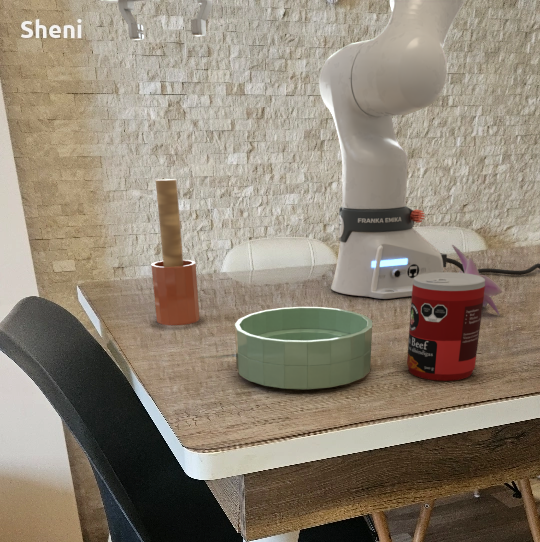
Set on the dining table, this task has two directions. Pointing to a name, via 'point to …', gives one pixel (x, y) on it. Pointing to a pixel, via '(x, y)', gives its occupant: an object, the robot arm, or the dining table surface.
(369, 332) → the bowl
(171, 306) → the holder
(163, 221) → the stick
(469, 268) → the lily
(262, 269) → the dining table surface
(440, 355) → the canned food
